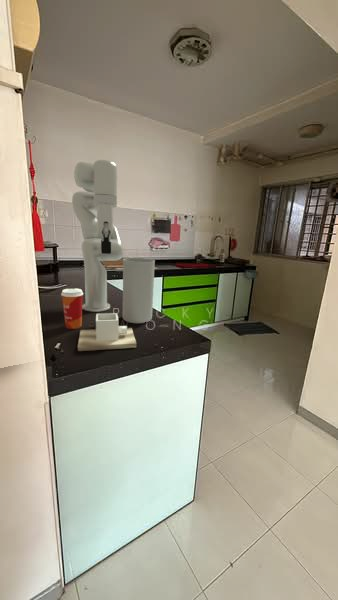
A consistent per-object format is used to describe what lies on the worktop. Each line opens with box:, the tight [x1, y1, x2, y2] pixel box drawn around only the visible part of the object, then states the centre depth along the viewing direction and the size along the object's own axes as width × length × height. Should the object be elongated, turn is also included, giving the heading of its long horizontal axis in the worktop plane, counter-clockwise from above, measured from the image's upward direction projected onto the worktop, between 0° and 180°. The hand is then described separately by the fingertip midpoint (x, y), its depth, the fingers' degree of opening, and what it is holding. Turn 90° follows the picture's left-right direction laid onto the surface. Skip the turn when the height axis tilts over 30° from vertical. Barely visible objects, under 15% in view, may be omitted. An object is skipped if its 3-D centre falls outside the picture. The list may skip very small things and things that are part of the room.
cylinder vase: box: [122, 257, 156, 324], centre depth 105 cm, size 12×12×25 cm
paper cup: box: [60, 287, 84, 330], centre depth 94 cm, size 8×8×14 cm
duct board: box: [77, 327, 137, 352], centre depth 86 cm, size 13×18×2 cm
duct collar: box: [95, 312, 128, 341], centre depth 85 cm, size 7×10×7 cm
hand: (105, 252), depth 91 cm, fingers open, 9 cm apart
